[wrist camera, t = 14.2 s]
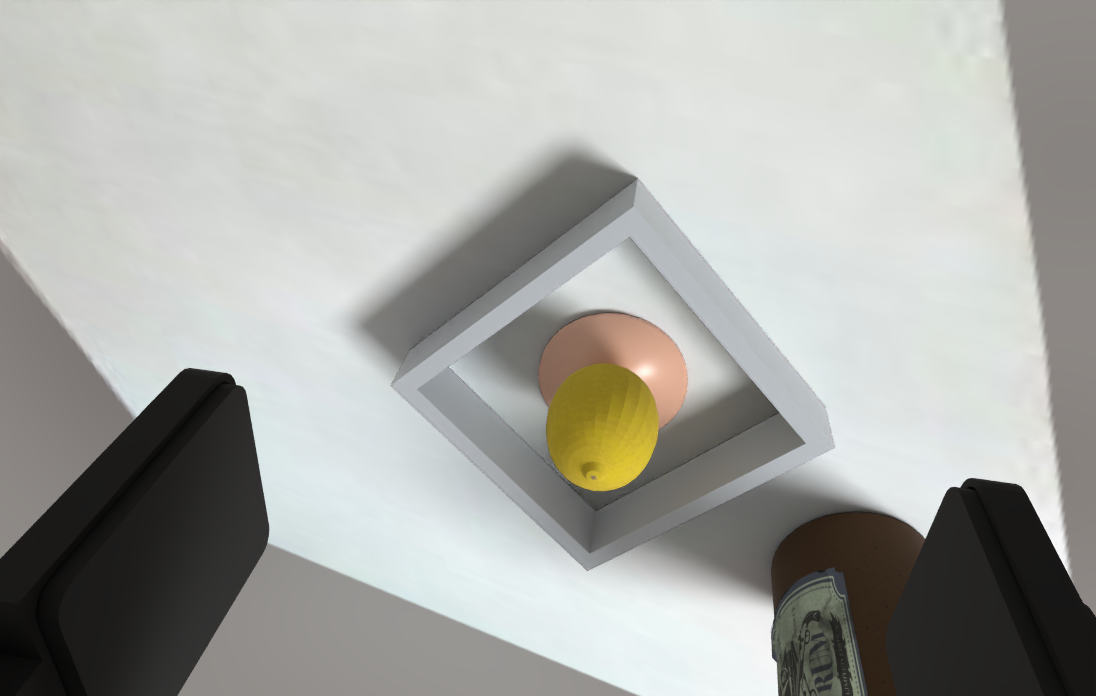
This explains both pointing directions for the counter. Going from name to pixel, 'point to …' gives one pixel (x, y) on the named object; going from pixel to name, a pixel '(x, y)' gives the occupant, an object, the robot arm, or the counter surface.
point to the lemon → (602, 427)
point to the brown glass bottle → (839, 603)
